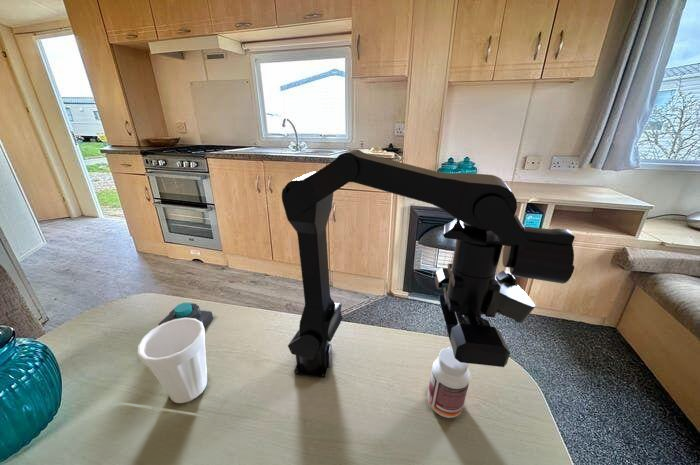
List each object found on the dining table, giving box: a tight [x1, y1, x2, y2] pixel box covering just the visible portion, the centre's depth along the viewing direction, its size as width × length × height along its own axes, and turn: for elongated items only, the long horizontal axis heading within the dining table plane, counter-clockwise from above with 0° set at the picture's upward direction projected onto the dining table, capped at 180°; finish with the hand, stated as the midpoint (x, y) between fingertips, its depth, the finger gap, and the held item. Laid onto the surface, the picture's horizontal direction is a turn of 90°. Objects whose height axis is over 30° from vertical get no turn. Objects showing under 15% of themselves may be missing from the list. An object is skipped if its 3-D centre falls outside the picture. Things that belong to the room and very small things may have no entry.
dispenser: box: [157, 302, 214, 329], centre depth 68 cm, size 10×6×4 cm, turn 82°
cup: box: [136, 318, 208, 404], centre depth 50 cm, size 10×10×13 cm
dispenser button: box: [173, 302, 193, 318], centre depth 67 cm, size 4×4×2 cm
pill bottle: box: [427, 346, 471, 419], centre depth 48 cm, size 6×6×11 cm
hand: (456, 349), depth 45 cm, fingers open, 3 cm apart
